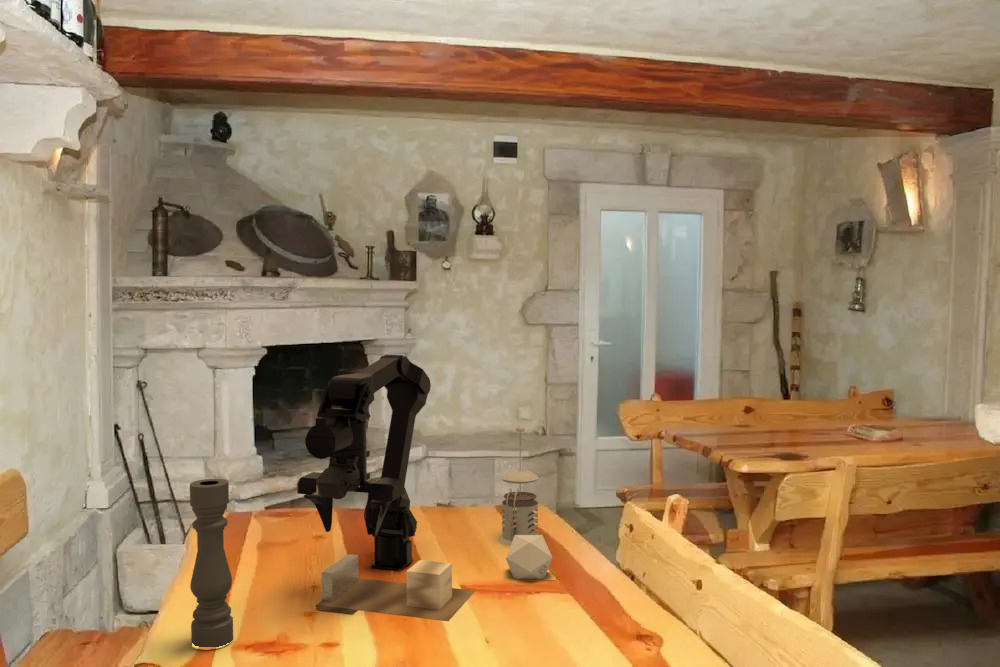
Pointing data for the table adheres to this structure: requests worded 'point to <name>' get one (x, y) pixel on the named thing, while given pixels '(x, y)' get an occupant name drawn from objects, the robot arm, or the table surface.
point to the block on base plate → (376, 594)
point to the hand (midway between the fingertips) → (351, 533)
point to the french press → (518, 505)
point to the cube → (429, 584)
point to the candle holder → (210, 565)
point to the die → (529, 557)
